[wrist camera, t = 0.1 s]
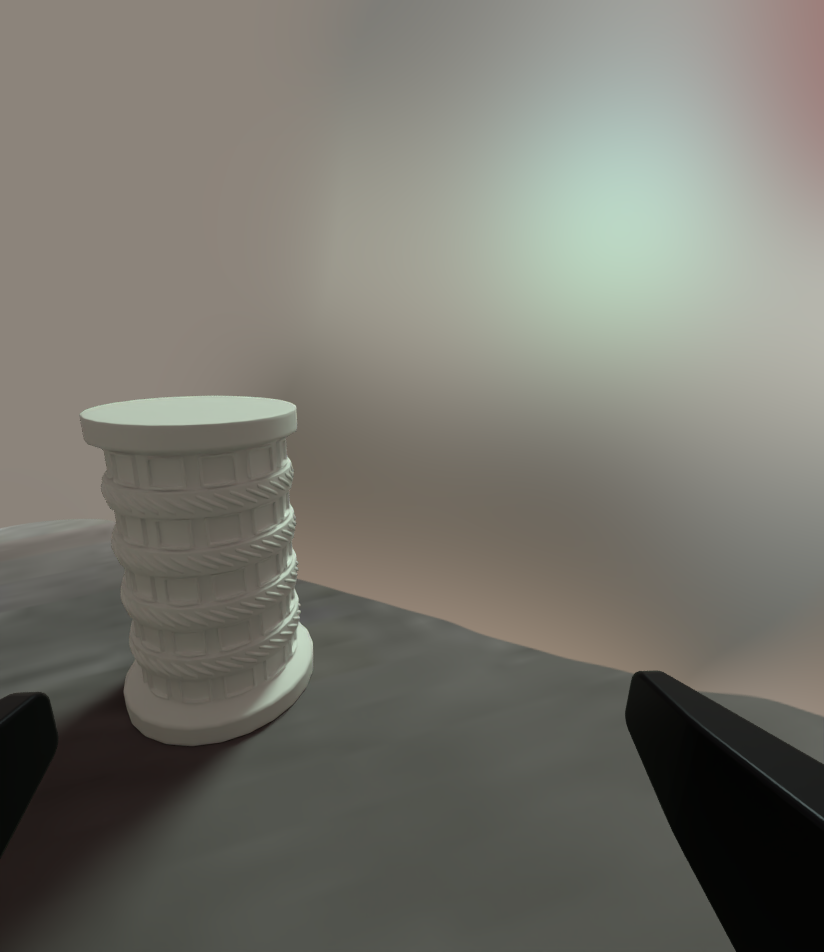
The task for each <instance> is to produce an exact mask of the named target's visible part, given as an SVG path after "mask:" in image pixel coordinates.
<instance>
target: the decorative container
mask: <svg viewBox="0 0 824 952" xmlns="http://www.w3.org/2000/svg"><path fill="white" fill-rule="evenodd" d="M79 416H80V421H81V427H82V432H83V437H84V440H85V441H86V442H87V444H89V445H92V446H95V447H99V448H101V449H102V450H103V451H104V455H105V461H106V466H107V471H106V472H105V473H104V476H103V477H102V484H101V491H102V494H103V496H104V498H105V500H106V502H107V504H108V505H109V507H110V509H112V510H114V512H115V518H116V524H115V526H114V529H113V532H112V540H111V547H112V550H113V552H114V554H115V555H116V557H117V559H118V561H119V563H120V565H122V566H124V570H125V574H124V576H123V580H122V585H121V600H122V603H123V605H124V607H125V608H126V610H127V612H128V614H129V616H130V617H131V618H133V621H132V624H131V630H130V636H129V647H130V649H131V652H132V654H133V656H134V657H135V661H134V662H133V664H132V666H131V668H130V669H129V671H128V673H127V675H126V679H125V685H124V691H123V692H124V697H125V703H126V708H127V711H128V714H129V717H130V720H131V723H132V724H133V725H134V726H135V727H136V728H137V729H138V730H139V731H140V732H141V733H142V734H143V735H144V736H146V737H149V738H151V739H154V740H156V741H159V742H162V743H164V744H171V745H182V746H199V745H206V744H214V743H221V742H224V741H227V740H230V739H233V738H236V737H239V736H242V735H246V734H249V733H251V732H253V731H254V730H256V729H258V728H260V727H262V726H264V725H266V724H267V723H269V722H271V721H273V720H274V719H276V718H277V717H278V716H279V715H281V714H282V713H283V712H284V711H286V710H287V709H288V708H289V707H291V706H292V705H293V704H294V703H295V702H296V700H297V699H298V698H299V696H300V695H301V694H302V693H303V691H304V690H305V689H306V687H307V685H308V682H309V680H310V678H311V675H312V673H313V642H312V640H311V637H310V635H309V632H308V630H307V629H306V628H305V627H304V626H303V625H302V624H301V623H300V622H299V619H300V617H299V614H300V613H301V611H300V610H299V607H300V604H299V602H298V601H299V598H298V596H297V593H296V591H295V589H294V585H295V584H296V578H297V571H298V568H297V565H298V561H296V558H297V557H296V554H295V552H294V550H293V548H292V538H293V537H294V531H295V526H296V522H295V520H296V517H295V516H294V510H293V508H292V506H291V505H290V500H289V490H290V489H291V486H292V480H293V479H292V478H293V476H294V474H293V471H294V470H293V467H292V464H291V461H290V459H289V458H288V457H287V445H286V437H288V436H289V435H291V434H293V433H294V432H296V430H297V414H296V406H295V405H294V404H292V403H290V402H286V401H282V400H276V399H269V398H257V397H242V396H188V397H187V396H184V397H166V398H152V399H141V400H132V401H124V402H116V403H111V404H105V405H100V406H96V407H93V408H89V409H86V410H84V411H83V412H82V413H80V414H79Z"/></svg>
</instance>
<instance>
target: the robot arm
mask: <svg viewBox="0 0 824 952" xmlns="http://www.w3.org/2000/svg"><path fill="white" fill-rule="evenodd" d="M625 718H626V724H627V727H628V730H629V732H630V735H631V737H632V739H633V742H634V744H635V746H636V749H637V751H638V753H639V756H640V758H641V760H642V763H643V765H644V767H645V770H646V772H647V774H648V777H649V779H650V781H651V784H652V786H653V788H654V791H655V793H656V795H657V798H658V800H659V802H660V805H661V807H662V809H663V812H664V814H665V816H666V818H667V820H668V823H669V825H670V827H671V829H672V831H673V833H674V835H675V837H676V839H677V841H678V843H679V845H680V847H681V849H682V851H683V853H684V855H685V857H686V859H687V860H688V862H689V864H690V866H691V868H692V870H693V872H694V874H695V875H696V877H697V879H698V881H699V883H700V885H701V887H702V889H703V891H704V892H705V894H706V896H707V898H708V900H709V902H710V904H711V906H712V907H713V909H714V911H715V913H716V915H717V917H718V919H719V921H720V922H721V924H722V926H723V928H724V930H725V932H726V934H727V936H728V937H729V939H730V941H731V943H732V945H733V947H734V949H735V951H736V952H824V764H822V763H820V762H819V761H817V760H815V759H813V758H812V757H810V756H808V755H807V754H805V753H803V752H801V751H800V750H798V749H796V748H794V747H793V746H791V745H789V744H787V743H786V742H784V741H782V740H780V739H779V738H777V737H775V736H773V735H772V734H770V733H768V732H767V731H765V730H763V729H761V728H760V727H758V726H756V725H754V724H753V723H751V722H749V721H747V720H746V719H744V718H742V717H740V716H739V715H737V714H735V713H733V712H732V711H730V710H728V709H727V708H725V707H723V706H721V705H720V704H718V703H716V702H714V701H713V700H711V699H709V698H707V697H706V696H704V695H702V694H700V693H699V692H697V691H695V690H693V689H692V688H690V687H688V686H686V685H685V684H683V683H681V682H679V681H678V680H676V679H674V678H673V677H671V676H669V675H667V674H666V673H664V672H661V671H639V672H636V673H635V674H634V675H633V676H632V680H631V684H630V690H629V695H628V700H627V705H626V710H625ZM57 745H58V732H57V728H56V724H55V719H54V715H53V711H52V707H51V703H50V699H49V697H48V696H47V695H46V694H45V693H42V692H23V693H13V694H10V695H8V696H6V697H4V698H2V699H0V858H1V856H2V855H3V853H4V851H5V849H6V847H7V845H8V843H9V841H10V839H11V837H12V835H13V833H14V832H15V830H16V828H17V826H18V824H19V822H20V820H21V818H22V816H23V814H24V812H25V810H26V809H27V807H28V805H29V803H30V801H31V799H32V797H33V795H34V793H35V791H36V789H37V787H38V785H39V784H40V782H41V780H42V778H43V776H44V774H45V772H46V770H47V768H48V766H49V764H50V762H51V761H52V759H53V757H54V754H55V752H56V749H57Z"/></svg>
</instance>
